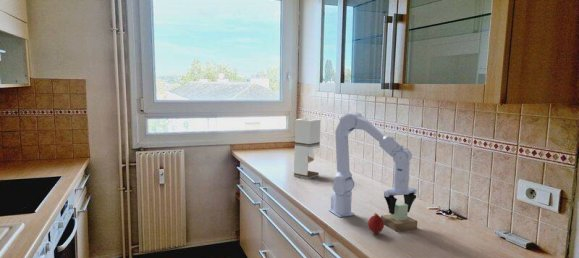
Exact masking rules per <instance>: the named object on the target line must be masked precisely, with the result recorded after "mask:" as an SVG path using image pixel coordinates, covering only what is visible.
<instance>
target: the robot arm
mask: <svg viewBox="0 0 579 258" xmlns="http://www.w3.org/2000/svg"><path fill="white" fill-rule="evenodd" d="M354 130H361V131H362V130H363V131H365V133H367V134H368V135H369V136H371V137H372V138H373V139H375V140H376V141H378V144H379V148H381V149H382V150H383V151H384V152H386V153H387V154H388V155H389V156H390V157H392V160H393V162H394V171H393V172H394V173H393V187H392V188H391V189H388V190H384V191H383V198H384V200H385V202H386V204H387V208H388V213H389V214H394V211H395V204H396V202H398V201H397V200H398V198H396V197H395V196H403V201H404V202H403V203H405V204H407V205H408V212H407V213H410V210H411V208H412V205H413V203H414V202H415V200H416V199H417V188H415V187H410V188H409V183H410V182H409V181H410V163H411V162H410V161H411V160H412V157H413V156H412V152H411V151H410V149H409V148H406V147H405V146H404V145H403V144H402V145H401V144H400V143H398V142H397V141H396V140H395V137H394V136H390V135H385V134H384V133H382V131H381V130H379V129H378V128H377V127H376V126H375V125H374V124H373V123H372V122H371V121H369V120H368V118H367V117H365V116H364V115H362V114H361V113H360V112H353V113H345V114H344V115H342V117H340V118H339V122H338V125H337V126H336V129H335V135H334V136H335V152H336V153H335V154H336V174H335V175H334V179H333V180H334V181H333V185H332V190H333V192H332V193H331V196H330V208H328V211H329V212H330V213H332V214H334V215H335V216H337V217H338V218H341V217H343V218H344V217H351V216H355V215H356V213H354V212H352V199H353V198H352V196H353V194H352V193H353V192H352V191H353V189H354V187H355V181H354V178H353V174H352V173H351V170H350V154H349V153H350V151H349V150H350V149H349V135H350V134H351V133H352V132H353V131H354Z"/></svg>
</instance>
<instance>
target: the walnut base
mask: <svg viewBox="0 0 579 258" xmlns="http://www.w3.org/2000/svg"><path fill="white" fill-rule="evenodd" d="M380 217H381V218H382V220H383V222H384V226H385V227H388V228H390V229H391V230H393V231H395V232H396V233H397V232H402V231H409V230H415V229H418V220H416V219H414V218H412V217H410V216H408V215H407V220H401V221H397V220H395V219H394V218H392V217H391V213H389V214H383V215H380Z"/></svg>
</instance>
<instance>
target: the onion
mask: <svg viewBox="0 0 579 258" xmlns="http://www.w3.org/2000/svg"><path fill="white" fill-rule="evenodd" d="M384 226H385V225H384V222H383V220H382V218H381V215H379V214H378V213H376V212H375V213H374V215H372V216H371V217H370V218H369V219H368V222H367V227H368V229H369V230H370V231H371V232H372V233H373V234H374V235H376V234H379V233H380V232H382V231H383V230H384Z"/></svg>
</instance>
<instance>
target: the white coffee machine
mask: <svg viewBox="0 0 579 258" xmlns="http://www.w3.org/2000/svg"><path fill="white" fill-rule="evenodd" d="M321 120H322V119H312V120H311V119H309V120H308V117H307V118H297V119H295V120H294V121H295V125H294V155H293V157H294V158H293V159H294V160H293V162H294V163H293V164H294V166H293V177H295V176H296V177H297V178H301V179H305V178H306V180H310V179H313V178H312V177H314V178H316V177H315V176H317V177H319V176H318V175H319V172H318V171H317V172H316V171H311V170H309V169H308V168H309V163H311V162H313V161H315V160H314V159H315V149H319V148H321V147H320V145H321V143H320V142H321ZM296 177H295V178H296Z"/></svg>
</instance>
